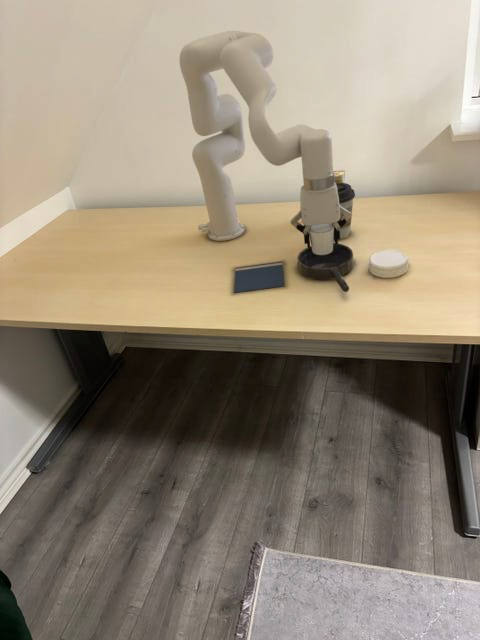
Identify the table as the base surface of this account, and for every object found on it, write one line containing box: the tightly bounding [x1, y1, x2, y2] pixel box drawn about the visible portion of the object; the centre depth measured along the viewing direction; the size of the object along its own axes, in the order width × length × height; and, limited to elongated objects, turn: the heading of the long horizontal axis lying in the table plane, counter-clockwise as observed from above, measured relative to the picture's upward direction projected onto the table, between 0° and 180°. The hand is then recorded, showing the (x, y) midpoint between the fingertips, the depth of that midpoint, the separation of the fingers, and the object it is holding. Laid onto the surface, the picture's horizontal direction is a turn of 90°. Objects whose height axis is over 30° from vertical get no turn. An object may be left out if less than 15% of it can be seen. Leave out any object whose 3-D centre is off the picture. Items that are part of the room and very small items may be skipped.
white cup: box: [309, 223, 334, 255], centre depth 136 cm, size 7×7×7 cm
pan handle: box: [330, 267, 350, 293], centre depth 128 cm, size 12×2×2 cm, turn 8°
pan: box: [297, 242, 355, 281], centre depth 140 cm, size 15×15×4 cm
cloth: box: [233, 260, 286, 294], centre depth 142 cm, size 14×14×1 cm
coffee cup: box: [332, 182, 356, 241], centre depth 151 cm, size 11×11×15 cm
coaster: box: [368, 249, 409, 279], centre depth 133 cm, size 10×10×4 cm
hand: (322, 243), depth 137 cm, fingers closed on white cup, 6 cm apart
